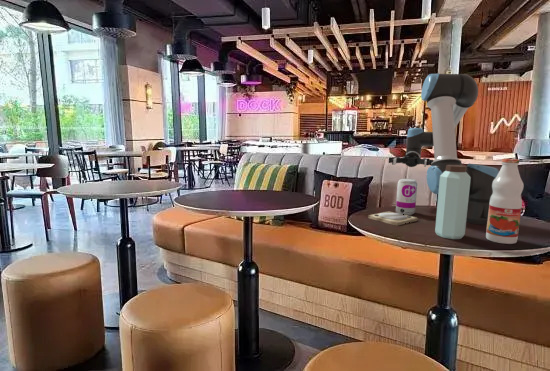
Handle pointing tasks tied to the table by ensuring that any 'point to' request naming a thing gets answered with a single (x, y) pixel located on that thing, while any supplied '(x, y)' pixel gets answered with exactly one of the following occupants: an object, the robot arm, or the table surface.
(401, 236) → the table surface
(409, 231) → the table surface
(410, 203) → the supplement can
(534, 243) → the table surface
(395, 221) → the dock board
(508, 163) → the fruit juice
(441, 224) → the water bottle
